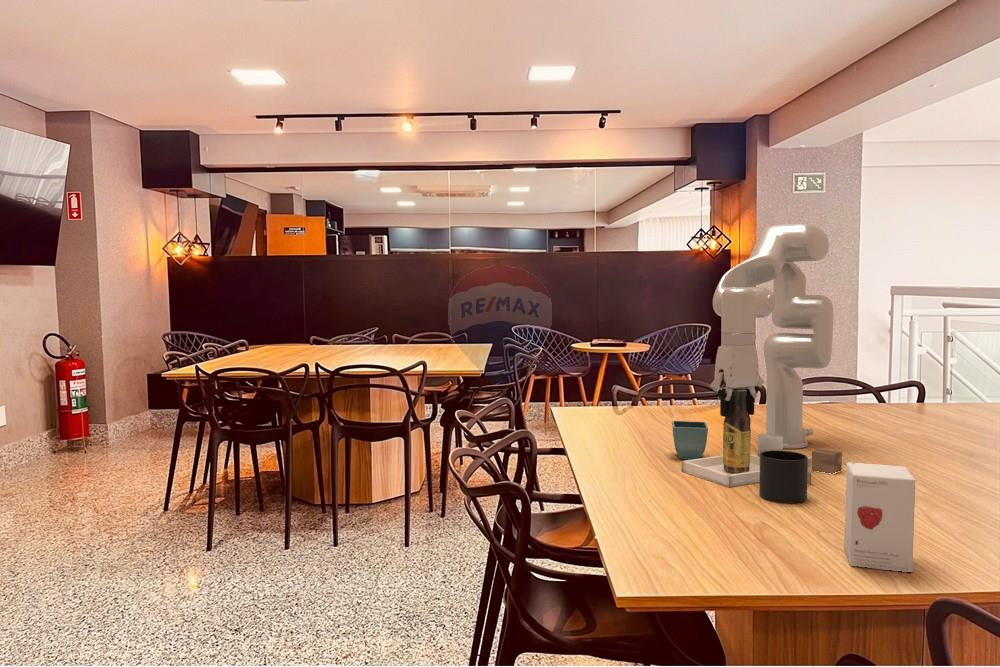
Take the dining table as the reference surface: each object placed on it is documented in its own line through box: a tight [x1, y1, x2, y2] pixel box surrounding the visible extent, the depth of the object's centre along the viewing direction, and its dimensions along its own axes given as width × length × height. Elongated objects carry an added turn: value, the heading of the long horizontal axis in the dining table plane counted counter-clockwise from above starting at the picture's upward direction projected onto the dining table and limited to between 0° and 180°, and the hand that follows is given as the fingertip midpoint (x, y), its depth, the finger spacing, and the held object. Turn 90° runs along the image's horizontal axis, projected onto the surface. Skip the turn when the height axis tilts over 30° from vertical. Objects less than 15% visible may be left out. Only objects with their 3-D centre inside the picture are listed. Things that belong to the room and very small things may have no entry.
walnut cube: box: [811, 447, 843, 474], centre depth 170 cm, size 5×5×5 cm
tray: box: [680, 453, 760, 488], centre depth 168 cm, size 20×16×2 cm
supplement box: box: [843, 461, 916, 573], centre depth 114 cm, size 9×9×15 cm
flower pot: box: [671, 420, 709, 460], centre depth 185 cm, size 9×9×9 cm
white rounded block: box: [756, 433, 784, 457], centre depth 178 cm, size 6×6×7 cm
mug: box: [758, 450, 809, 504], centre depth 150 cm, size 9×12×9 cm
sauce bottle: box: [722, 388, 752, 473], centre depth 168 cm, size 6×6×20 cm
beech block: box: [807, 456, 812, 485], centre depth 160 cm, size 4×4×6 cm
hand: (737, 414), depth 168 cm, fingers open, 6 cm apart
